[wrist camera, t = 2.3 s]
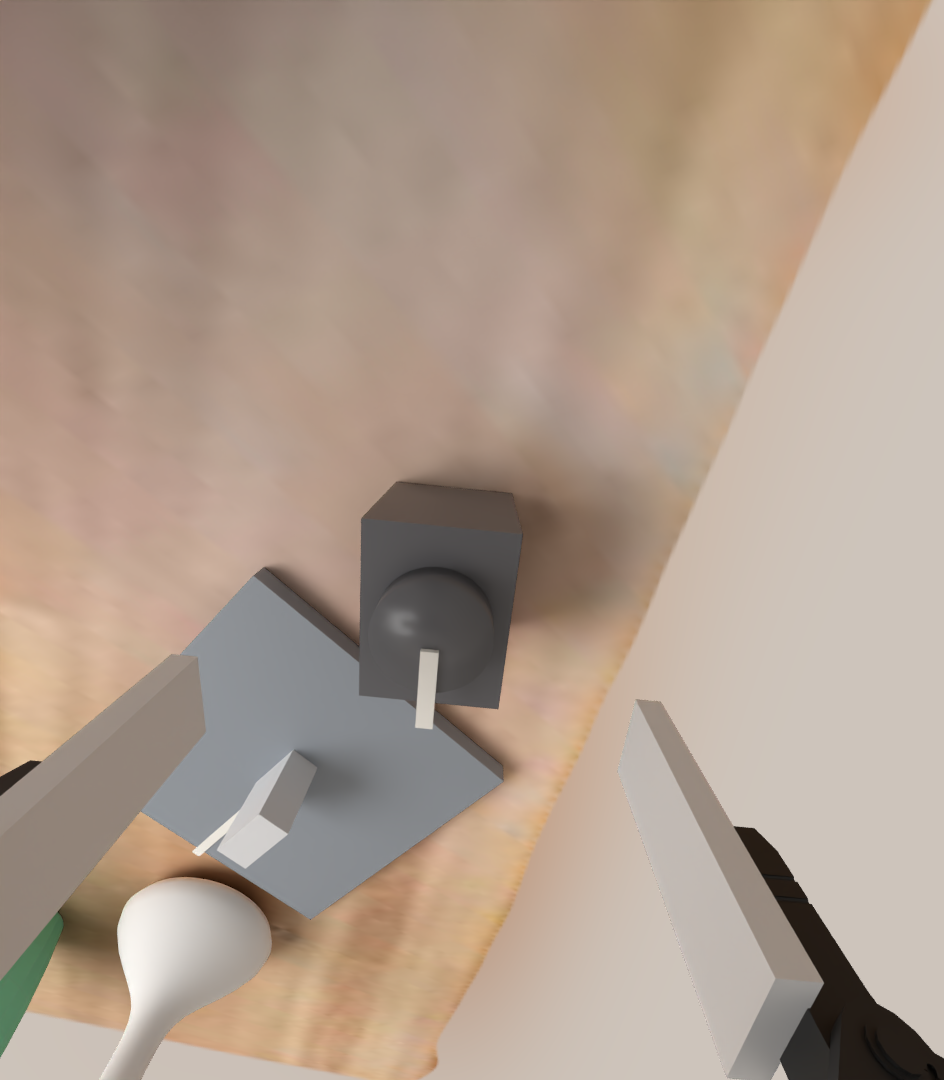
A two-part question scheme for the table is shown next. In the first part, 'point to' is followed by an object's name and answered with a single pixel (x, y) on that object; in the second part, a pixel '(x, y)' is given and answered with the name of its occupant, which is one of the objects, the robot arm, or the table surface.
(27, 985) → the mug
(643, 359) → the table surface
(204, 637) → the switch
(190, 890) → the flower in vase
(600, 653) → the table surface
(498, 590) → the knob
